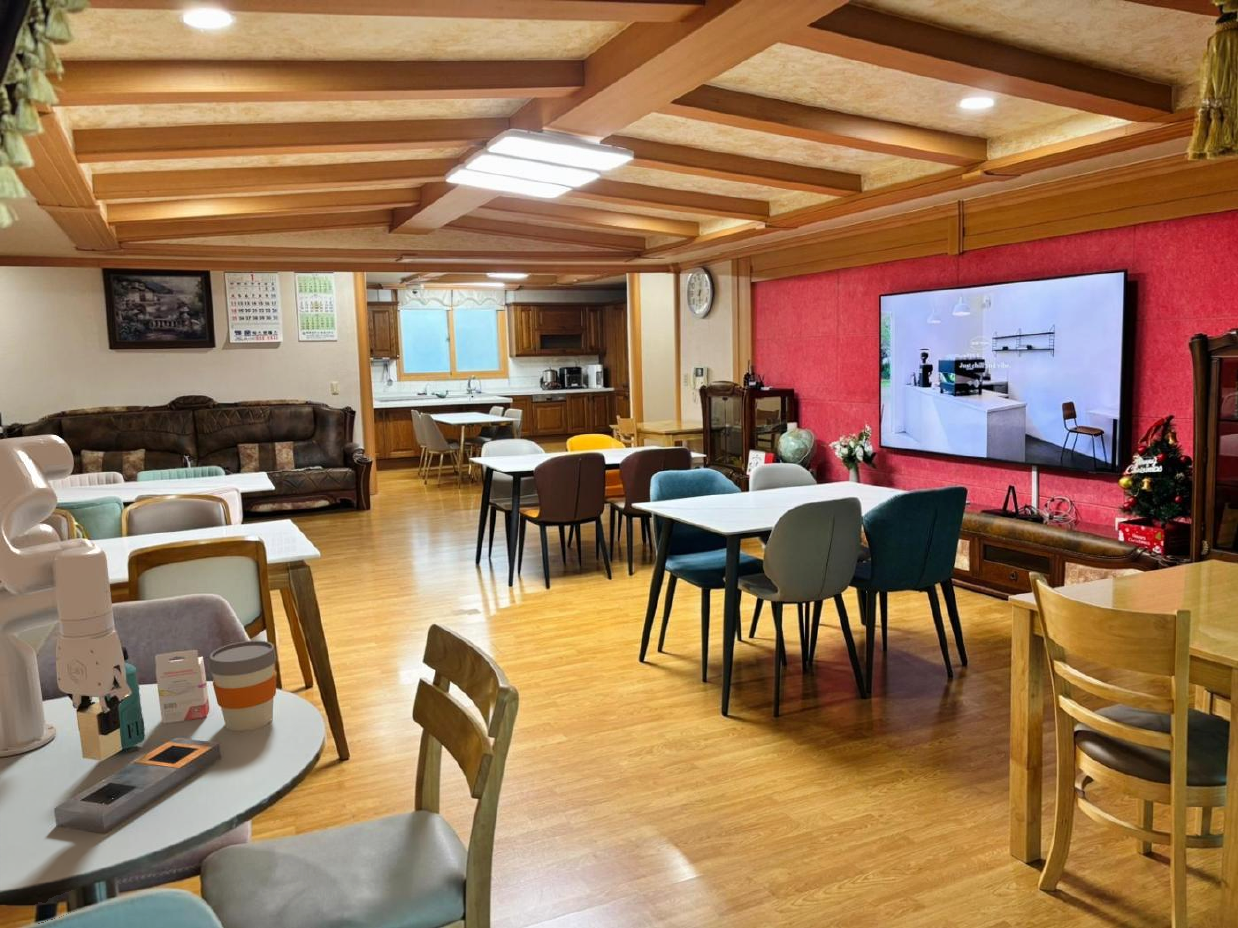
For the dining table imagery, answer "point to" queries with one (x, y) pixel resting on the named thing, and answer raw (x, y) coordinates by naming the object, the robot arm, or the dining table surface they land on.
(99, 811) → the grey flat rectangular block
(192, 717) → the ink cartridge box
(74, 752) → the dining table surface
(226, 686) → the reusable coffee cup
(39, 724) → the robot arm
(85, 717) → the wooden block
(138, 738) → the beverage bottle
